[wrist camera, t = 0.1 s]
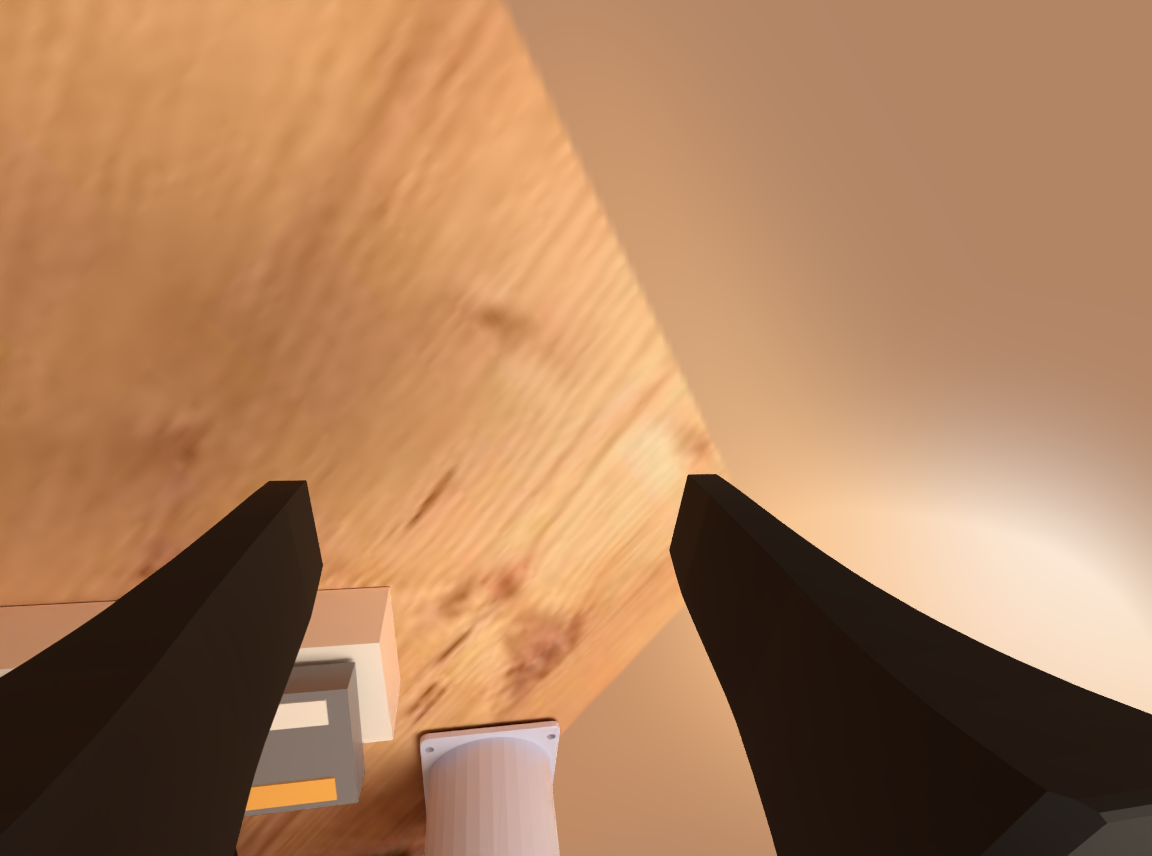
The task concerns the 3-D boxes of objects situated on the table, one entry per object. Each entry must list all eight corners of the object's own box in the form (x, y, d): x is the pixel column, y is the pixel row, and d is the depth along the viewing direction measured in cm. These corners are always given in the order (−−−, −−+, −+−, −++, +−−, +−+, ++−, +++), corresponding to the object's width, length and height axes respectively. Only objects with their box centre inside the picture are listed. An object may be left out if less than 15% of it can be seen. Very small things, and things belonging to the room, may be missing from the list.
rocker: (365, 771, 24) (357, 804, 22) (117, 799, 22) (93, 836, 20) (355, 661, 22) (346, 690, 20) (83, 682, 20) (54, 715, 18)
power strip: (400, 682, 28) (390, 755, 25) (-286, 739, 23) (-409, 841, 19) (389, 586, 24) (376, 657, 21) (-426, 629, 19) (-602, 731, 16)
